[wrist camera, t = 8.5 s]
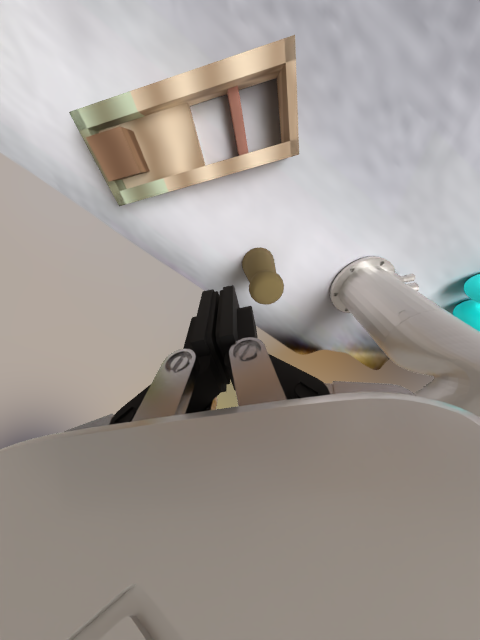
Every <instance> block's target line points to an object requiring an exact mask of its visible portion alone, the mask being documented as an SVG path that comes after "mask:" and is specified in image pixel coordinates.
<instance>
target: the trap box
mask: <svg viewBox="0 0 480 640" xmlns="http://www.w3.org/2000/svg"><path fill="white" fill-rule="evenodd" d="M275 78H277V91H278V105H279V118H280V131H281V144H278V145H274V146H271V147H267V148H264V149H261V150H257V151H254V152H250V153H248V147H247V141H246V134H245V128H244V122H243V115H242V109H241V102H240V96H239V90H241V89H244V88H247V87H250V86H253V85H256V84H260V83H263V82H266V81H269V80H272V79H275ZM226 94H227V95H228V100H229V106H230V111H231V117H232V123H233V128H234V134H235V139H236V145H237V150H238V156H237V157H234V158H230V159H227V160H223V161H220V162H217V163H213V164H210V165H206V166H205V162H204V158H203V155H202V151H201V147H200V144H199V140H198V136H197V132H196V129H195V125H194V121H193V117H192V114H191V110H190V106H192V105H195V104H198V103H201V102H204V101H207V100H210V99H213V98H217V97H220V96H223V95H226ZM69 113H70V115H71V117H72V119H73V120H74V122H75V124H76V126H77V128H78V130H79V132H80V134H81V135H82V137H83V139H84V141H85V143H86V145H87V147H88V149H89V150H90V152H91V154H92V156H93V158H94V160H95V162H96V164H97V165H98V167H99V169H100V171H101V173H102V175H103V177H104V179H105V180H106V182H107V184H108V186H109V188H110V190H111V192H112V194H113V195H114V197H115V199H116V201H117V203H118V205H119V206H122V205H125V204H129V203H132V202H136V201H139V200H142V199H146V198H149V197H153V196H156V195H160V194H163V193H167V192H170V191H174V190H177V189H181V188H184V187H188V186H191V185H195V184H198V183H201V182H205V181H208V180H212V179H215V178H219V177H222V176H226V175H229V174H233V173H236V172H240V171H243V170H247V169H250V168H253V167H257V166H260V165H264V164H267V163H271V162H274V161H278V160H281V159H285V158H288V157H292V156H295V155H299V140H298V111H297V82H296V54H295V35H293V36H290V37H287V38H284V39H281V40H279V41H276V42H273V43H270V44H267V45H264V46H261V47H258V48H255V49H252V50H249V51H246V52H243V53H241V54H238V55H235V56H232V57H229V58H226V59H223V60H220V61H217V62H214V63H211V64H208V65H205V66H203V67H200V68H197V69H194V70H191V71H188V72H185V73H182V74H179V75H176V76H173V77H170V78H167V79H165V80H162V81H159V82H156V83H153V84H150V85H147V86H144V87H141V88H138V89H135V90H132V91H129V92H127V93H124V94H121V95H118V96H115V97H112V98H109V99H106V100H103V101H100V102H97V103H94V104H91V105H89V106H86V107H83V108H80V109H77V110H74V111H71V112H69ZM119 126H121V127H124V128H126V129H129V130H132V131H134V134H135V136H136V139H137V141H138V144H139V146H140V148H141V151H142V153H143V156H144V158H145V161H146V163H147V165H148V168H149V170H150V171H149V172H146V173H143V174H139V175H136V176H133V177H129V178H126V179H123V180H116V181H110V182H109V181H108V179H107V177H106V175H105V174H104V172H103V170H102V168H101V166H100V164H99V162H98V160H97V158H96V156H95V155H94V153H93V151H92V149H91V147H90V145H89V143H88V141H87V139H86V138H85V137H88V136H91V135H94V134H97V133H100V132H103V131H106V130H110V129H113V128H116V127H119Z"/></svg>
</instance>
